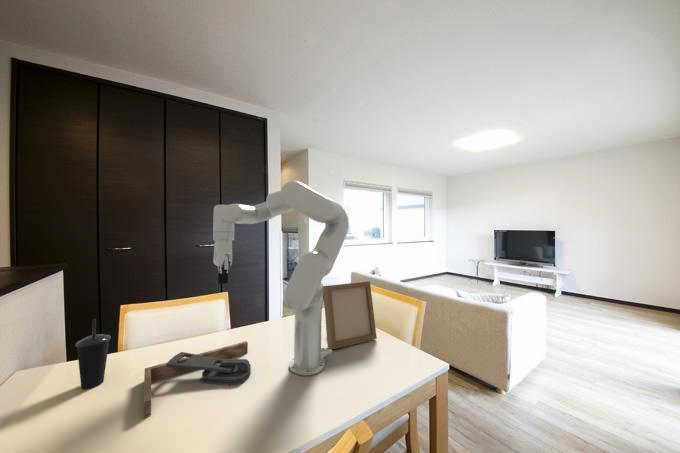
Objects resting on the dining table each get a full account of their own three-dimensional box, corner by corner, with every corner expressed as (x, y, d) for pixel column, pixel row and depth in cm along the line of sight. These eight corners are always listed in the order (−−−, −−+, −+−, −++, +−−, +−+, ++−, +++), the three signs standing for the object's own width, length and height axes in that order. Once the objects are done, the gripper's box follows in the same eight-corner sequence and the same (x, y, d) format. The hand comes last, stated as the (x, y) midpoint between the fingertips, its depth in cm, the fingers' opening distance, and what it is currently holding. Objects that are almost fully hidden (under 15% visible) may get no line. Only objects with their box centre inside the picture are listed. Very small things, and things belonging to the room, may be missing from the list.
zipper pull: (180, 350, 84) (254, 349, 85) (180, 369, 83) (253, 369, 84) (162, 364, 75) (245, 363, 76) (162, 386, 75) (244, 385, 76)
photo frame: (376, 340, 107) (377, 283, 107) (332, 351, 97) (332, 288, 97) (358, 328, 120) (359, 277, 120) (317, 337, 110) (318, 281, 110)
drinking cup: (68, 395, 70) (70, 325, 70) (81, 380, 77) (83, 317, 77) (104, 388, 73) (105, 321, 74) (113, 374, 80) (114, 313, 80)
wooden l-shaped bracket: (246, 351, 96) (246, 341, 96) (264, 373, 82) (264, 361, 82) (144, 381, 77) (144, 368, 77) (143, 417, 62) (143, 402, 62)
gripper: (209, 236, 99) (208, 281, 99) (217, 237, 88) (216, 288, 87) (229, 235, 104) (228, 279, 104) (239, 236, 92) (238, 285, 92)
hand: (222, 283), depth 95 cm, fingers closed
